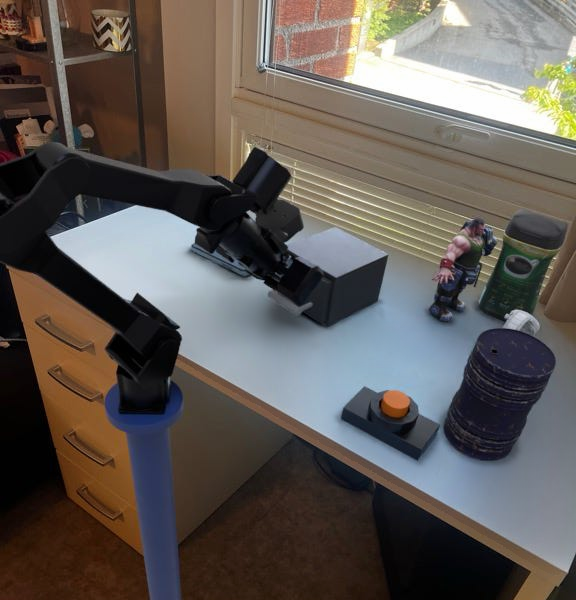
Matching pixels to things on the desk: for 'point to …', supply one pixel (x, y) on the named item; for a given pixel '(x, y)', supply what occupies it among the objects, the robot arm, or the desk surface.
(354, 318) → the desk surface
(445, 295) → the action figure
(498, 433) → the navy cylinder
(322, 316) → the open black drawer
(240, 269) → the smartphone
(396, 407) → the button
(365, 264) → the black drawer cabinet
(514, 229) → the coffee jar
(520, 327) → the watch
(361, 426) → the button panel
